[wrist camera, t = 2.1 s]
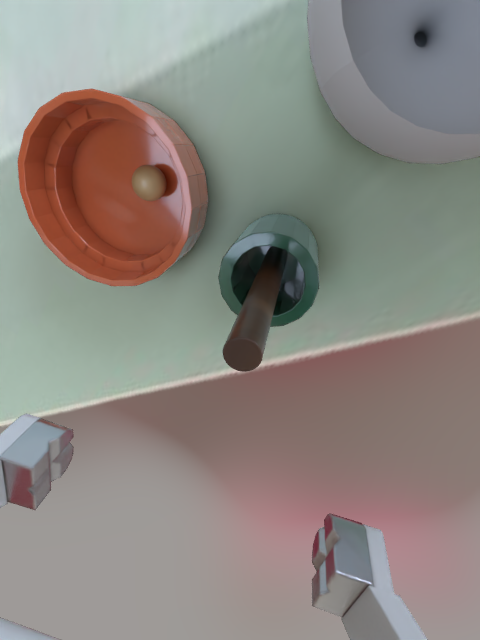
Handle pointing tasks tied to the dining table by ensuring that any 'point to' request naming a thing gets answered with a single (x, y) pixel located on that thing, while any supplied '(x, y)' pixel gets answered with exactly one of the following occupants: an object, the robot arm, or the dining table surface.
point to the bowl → (110, 186)
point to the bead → (149, 182)
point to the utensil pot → (298, 270)
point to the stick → (256, 314)
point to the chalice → (401, 74)
